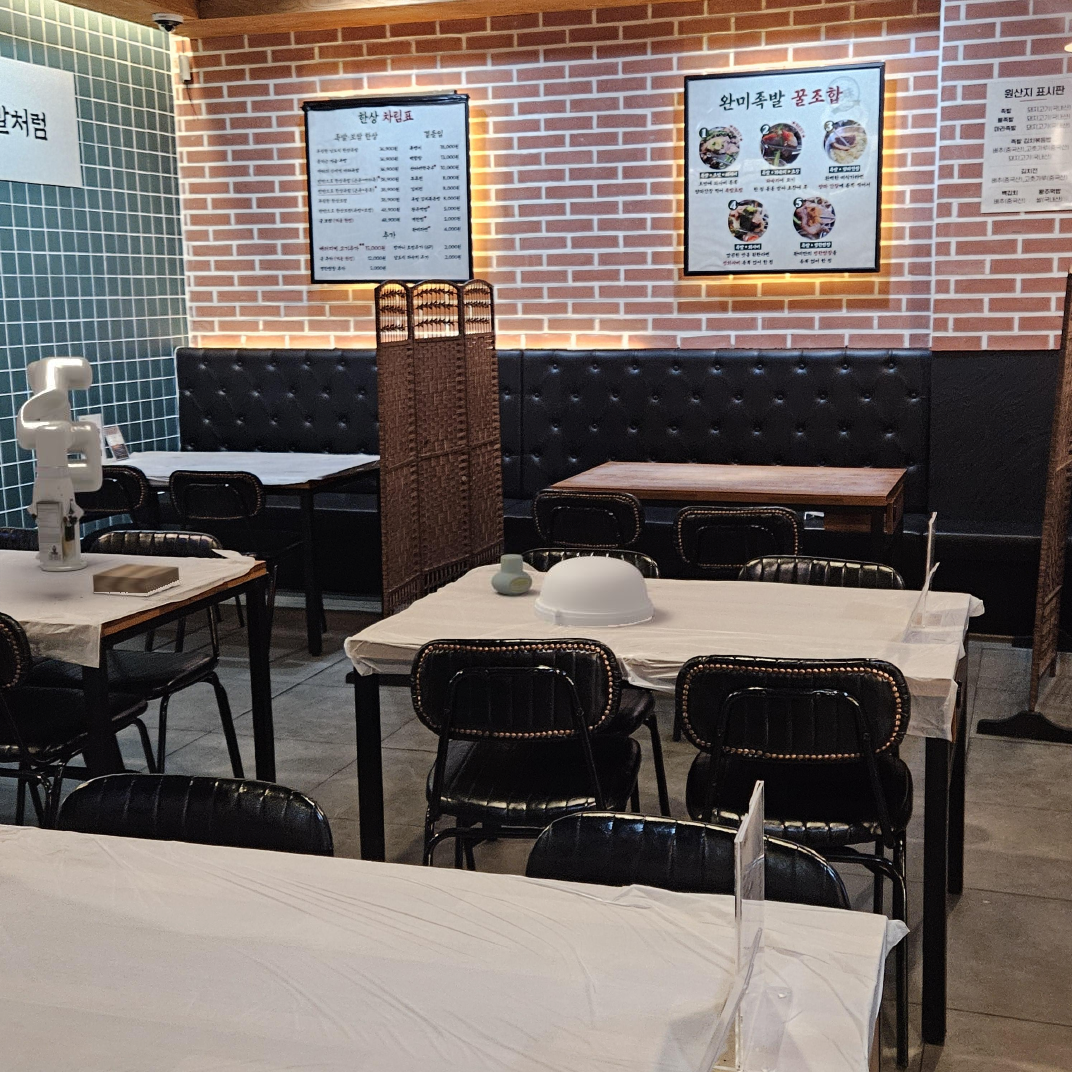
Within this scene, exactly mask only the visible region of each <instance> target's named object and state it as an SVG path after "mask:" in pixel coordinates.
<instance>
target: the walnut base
mask: <svg viewBox="0 0 1072 1072" xmlns="http://www.w3.org/2000/svg"><path fill="white" fill-rule="evenodd" d="M179 569H180V568H179V566H166V565H148V564H133V563H126V564H123V565H120V566H119V565H118V566H117V567H114V568H111V569H107V570H104V571H101V572H98V573H95V574H92V584H93V585H92V586H93V593H94V592H109V593H110V592H120V593H121V592H125V593H126V592H128V593H148V592H150V591H153V590H156V589H158V588H160V587H163V586H165V585H168V584H170V583H172V582H175V581H177V580H179V581H180V573H179V572H180V570H179Z"/></svg>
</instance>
